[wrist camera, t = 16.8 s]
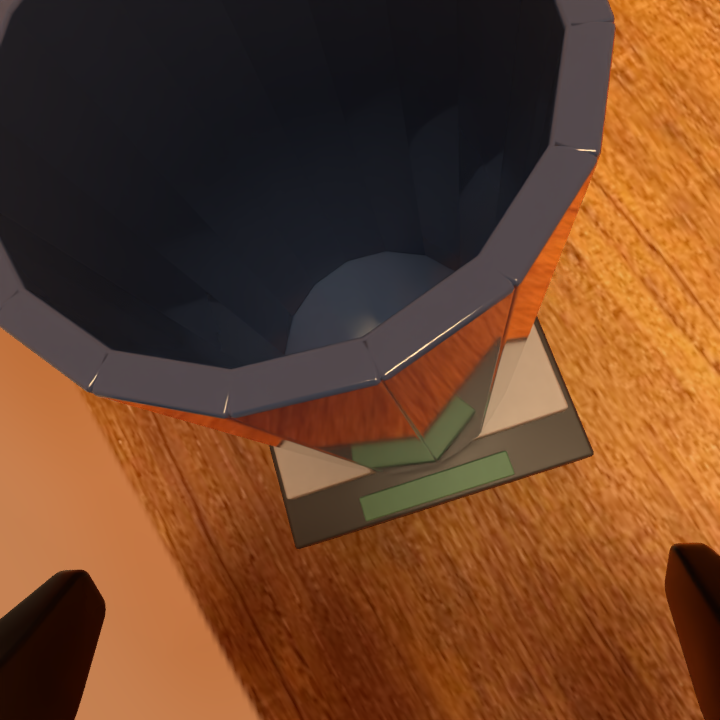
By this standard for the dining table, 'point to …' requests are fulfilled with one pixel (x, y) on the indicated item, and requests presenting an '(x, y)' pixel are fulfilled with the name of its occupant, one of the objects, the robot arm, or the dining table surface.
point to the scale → (450, 477)
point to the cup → (295, 206)
